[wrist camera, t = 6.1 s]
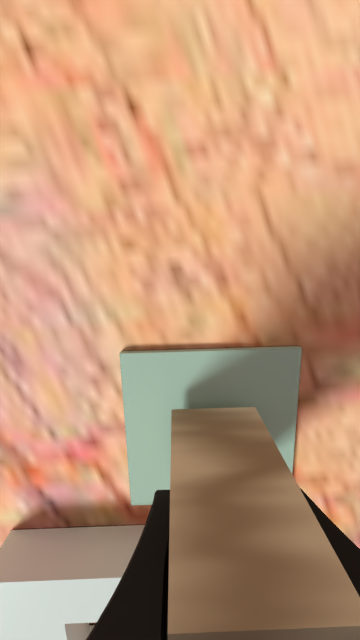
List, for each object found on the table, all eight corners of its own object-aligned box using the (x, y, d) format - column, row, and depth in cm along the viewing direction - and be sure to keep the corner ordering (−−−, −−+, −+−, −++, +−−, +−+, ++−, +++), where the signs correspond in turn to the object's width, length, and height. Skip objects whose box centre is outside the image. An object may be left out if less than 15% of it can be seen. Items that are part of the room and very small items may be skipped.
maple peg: (255, 406, 15) (375, 624, 6) (252, 477, 16) (351, 755, 7) (171, 409, 15) (167, 633, 6) (173, 480, 16) (173, 765, 7)
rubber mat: (298, 345, 15) (301, 348, 15) (287, 493, 18) (290, 499, 17) (121, 351, 15) (119, 353, 15) (132, 499, 17) (131, 505, 17)
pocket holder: (225, 521, 18) (235, 572, 15) (223, 651, 21) (231, 716, 18) (11, 530, 18) (-22, 583, 15) (36, 659, 20) (13, 726, 17)
